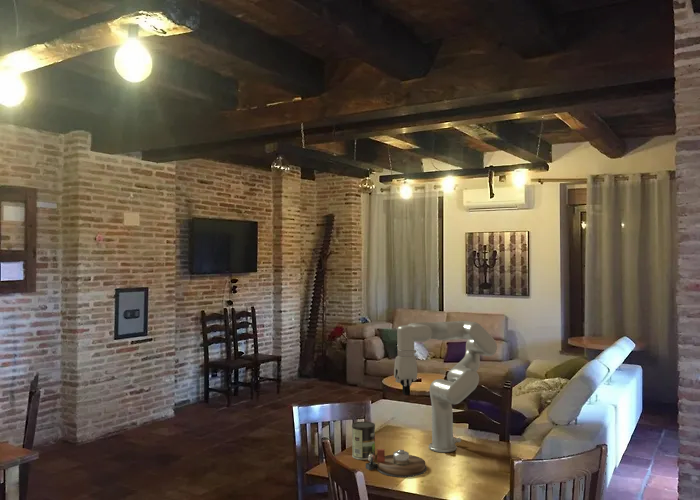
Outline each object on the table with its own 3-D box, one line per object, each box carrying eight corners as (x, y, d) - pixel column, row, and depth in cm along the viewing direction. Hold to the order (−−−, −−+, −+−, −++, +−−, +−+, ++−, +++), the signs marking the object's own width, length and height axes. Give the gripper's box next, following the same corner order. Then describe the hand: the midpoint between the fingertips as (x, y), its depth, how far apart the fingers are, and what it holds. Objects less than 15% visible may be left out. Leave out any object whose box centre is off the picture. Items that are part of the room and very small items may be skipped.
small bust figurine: (373, 466, 246) (373, 452, 246) (377, 468, 243) (377, 454, 244) (365, 468, 244) (365, 454, 244) (369, 470, 241) (369, 456, 242)
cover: (393, 460, 246) (392, 448, 246) (408, 460, 246) (408, 448, 246) (393, 465, 240) (393, 453, 240) (409, 465, 240) (409, 453, 240)
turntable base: (407, 456, 258) (407, 455, 258) (436, 471, 240) (436, 470, 240) (367, 464, 248) (367, 463, 248) (394, 480, 230) (394, 479, 230)
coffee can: (376, 453, 263) (376, 421, 264) (373, 460, 253) (373, 428, 253) (354, 451, 265) (354, 420, 266) (350, 459, 255) (349, 426, 256)
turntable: (377, 458, 254) (377, 442, 254) (423, 459, 253) (423, 442, 254) (377, 475, 234) (377, 457, 234) (427, 475, 233) (427, 458, 234)
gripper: (414, 351, 268) (415, 391, 267) (387, 353, 260) (387, 394, 260) (424, 353, 261) (424, 394, 261) (396, 355, 254) (397, 398, 253)
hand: (406, 394), depth 260 cm, fingers closed
